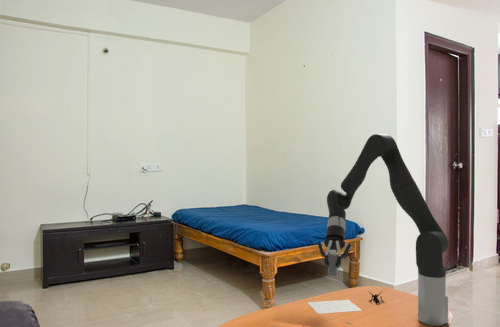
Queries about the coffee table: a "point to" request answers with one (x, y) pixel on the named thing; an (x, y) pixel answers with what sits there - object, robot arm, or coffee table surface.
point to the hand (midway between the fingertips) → (332, 265)
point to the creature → (376, 298)
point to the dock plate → (333, 306)
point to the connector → (332, 263)
